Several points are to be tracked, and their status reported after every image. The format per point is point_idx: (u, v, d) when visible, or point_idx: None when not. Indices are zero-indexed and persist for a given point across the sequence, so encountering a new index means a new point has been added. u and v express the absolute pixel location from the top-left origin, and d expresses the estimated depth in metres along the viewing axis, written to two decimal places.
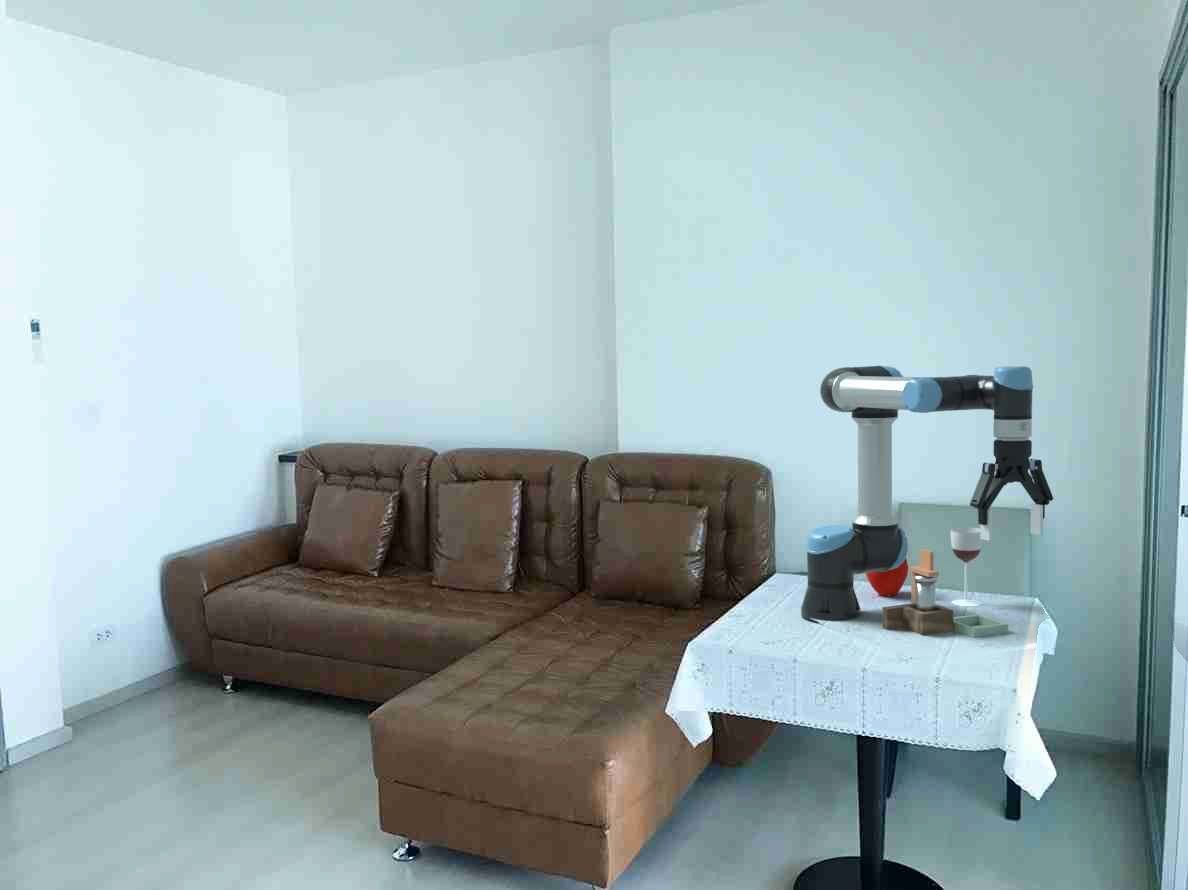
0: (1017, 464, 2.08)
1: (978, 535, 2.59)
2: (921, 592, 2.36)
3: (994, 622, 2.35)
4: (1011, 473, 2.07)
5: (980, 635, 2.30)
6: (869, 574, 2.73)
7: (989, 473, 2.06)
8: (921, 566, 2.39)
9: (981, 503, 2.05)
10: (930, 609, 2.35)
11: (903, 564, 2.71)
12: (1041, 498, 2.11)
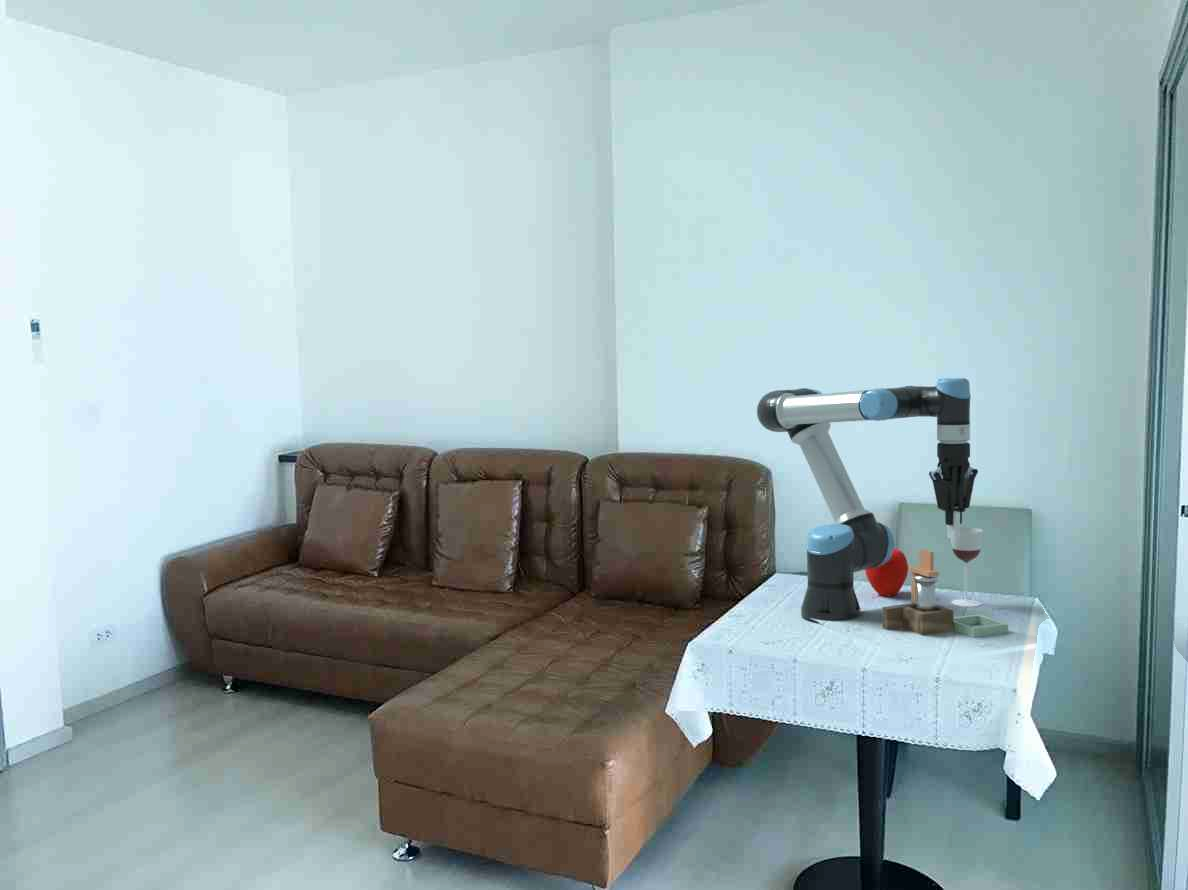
0: None
1: (978, 535, 2.59)
2: (921, 592, 2.36)
3: (994, 622, 2.35)
4: (954, 473, 2.35)
5: (980, 635, 2.30)
6: (869, 574, 2.73)
7: (938, 481, 2.35)
8: (921, 566, 2.39)
9: (946, 506, 2.36)
10: (930, 609, 2.35)
11: (903, 564, 2.71)
12: (960, 504, 2.37)
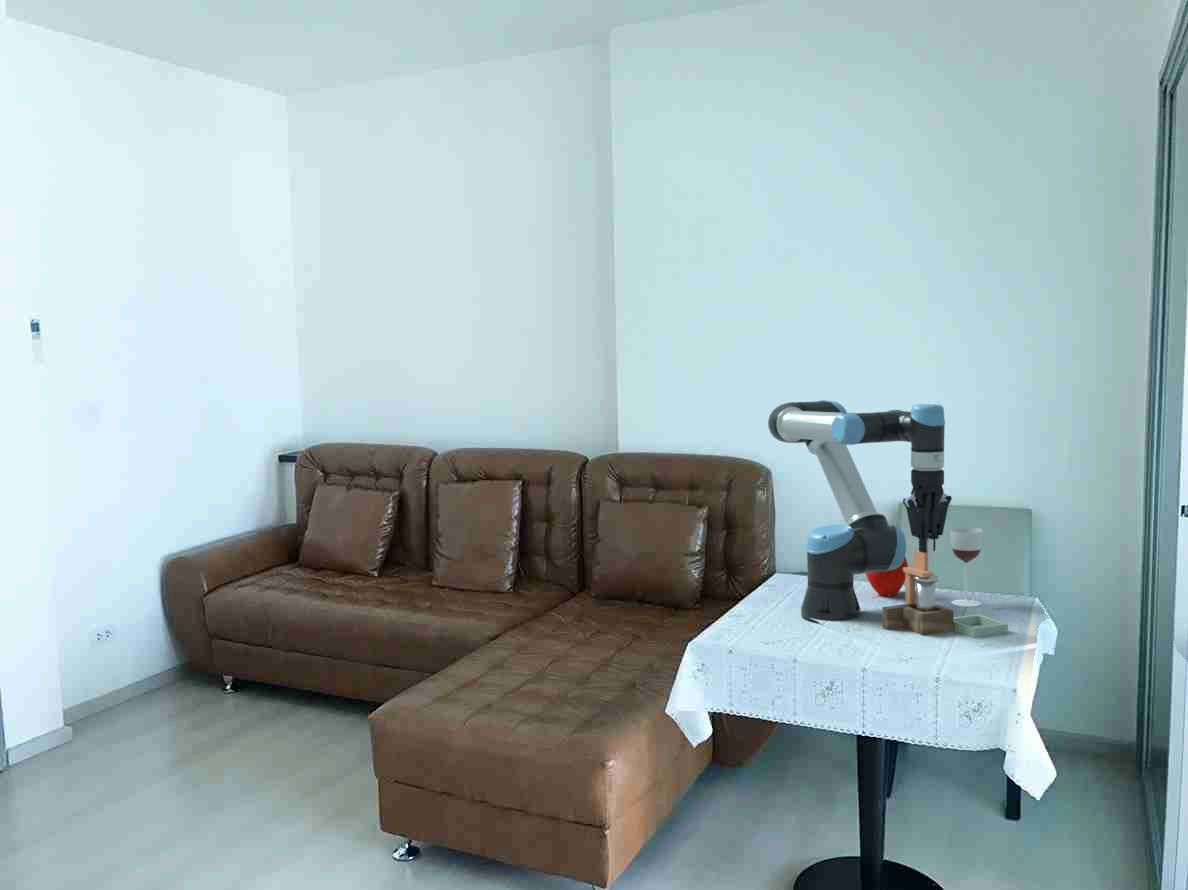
0: None
1: (978, 535, 2.59)
2: (921, 592, 2.36)
3: (994, 622, 2.35)
4: (928, 500, 2.33)
5: (980, 635, 2.30)
6: (869, 574, 2.73)
7: (912, 508, 2.33)
8: (915, 567, 2.38)
9: (920, 533, 2.34)
10: (930, 609, 2.35)
11: (903, 564, 2.71)
12: (934, 531, 2.35)
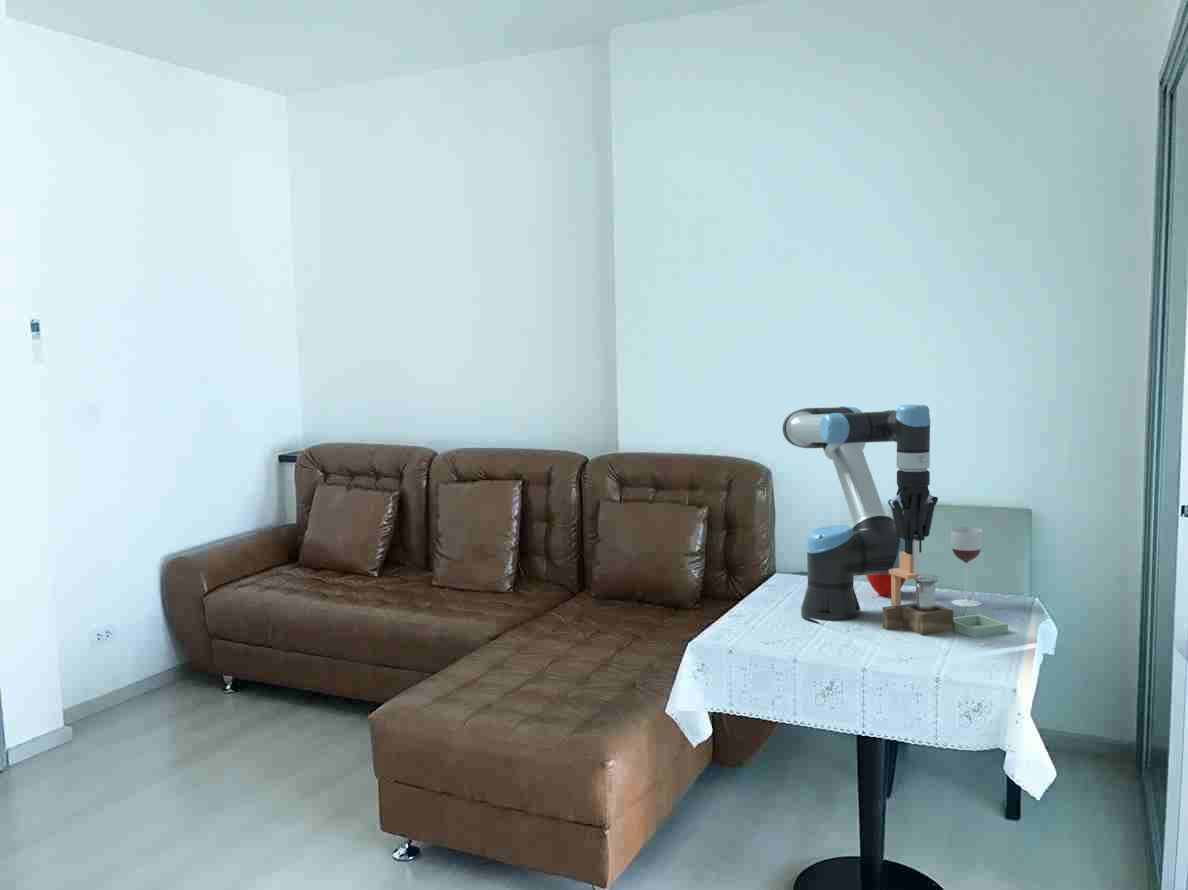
0: None
1: (978, 535, 2.59)
2: (921, 592, 2.36)
3: (994, 622, 2.35)
4: (913, 501, 2.32)
5: (980, 635, 2.30)
6: None
7: (897, 509, 2.31)
8: (901, 568, 2.37)
9: (905, 534, 2.32)
10: (930, 609, 2.35)
11: None
12: (920, 532, 2.34)
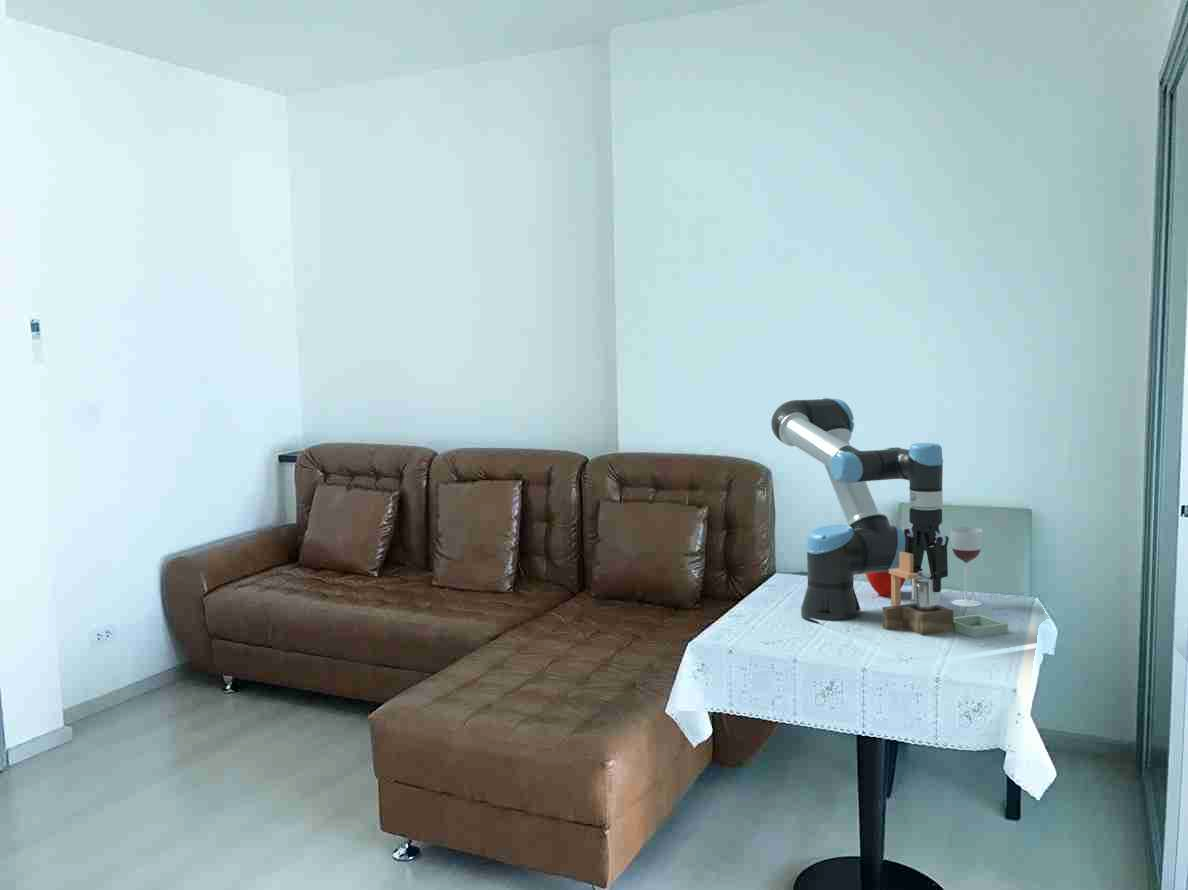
0: (923, 526, 2.35)
1: (978, 535, 2.59)
2: (921, 592, 2.36)
3: (994, 622, 2.35)
4: (915, 537, 2.37)
5: (980, 635, 2.30)
6: (869, 574, 2.73)
7: None
8: (901, 568, 2.37)
9: None
10: (930, 609, 2.35)
11: None
12: (931, 571, 2.33)
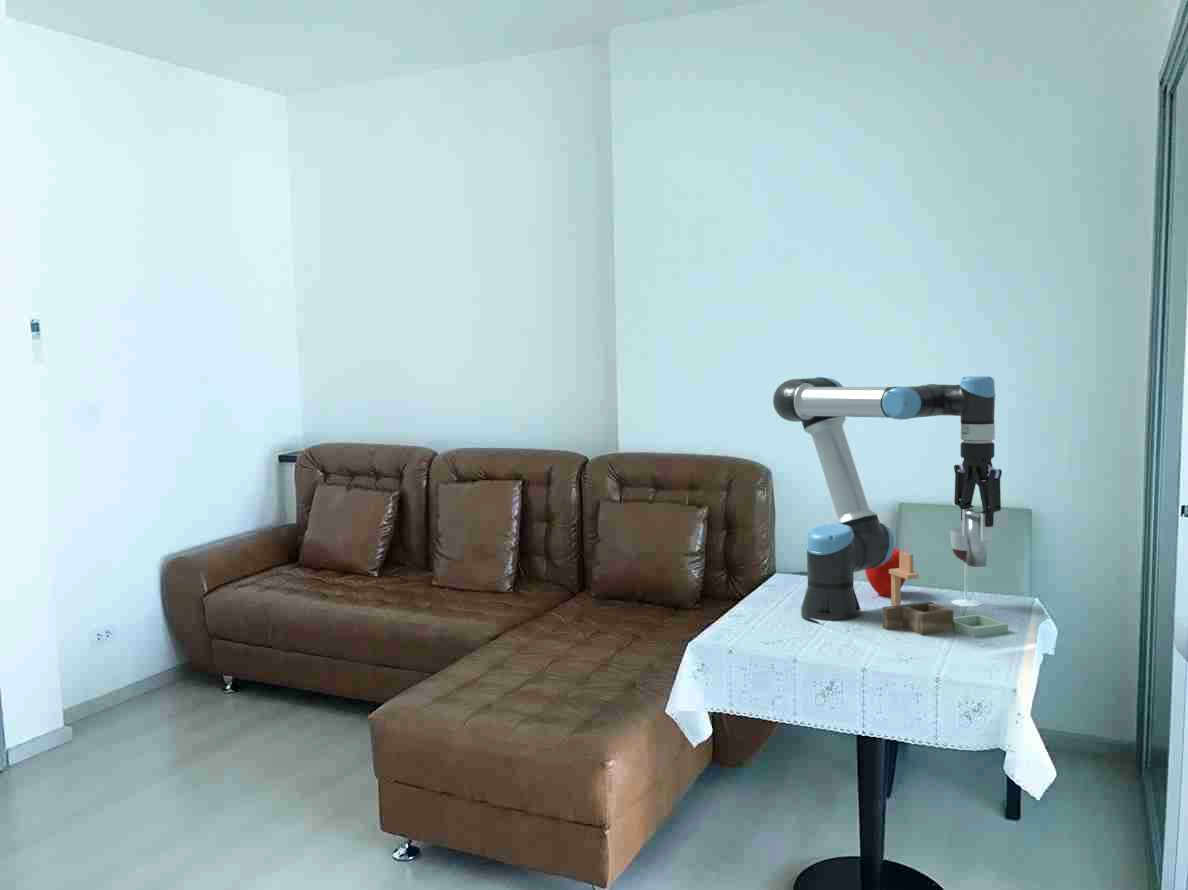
0: (975, 460, 2.31)
1: None
2: (972, 527, 2.32)
3: (994, 622, 2.35)
4: (966, 472, 2.33)
5: (980, 635, 2.30)
6: (869, 574, 2.73)
7: None
8: (901, 568, 2.37)
9: (956, 501, 2.38)
10: (982, 544, 2.32)
11: None
12: (983, 506, 2.29)
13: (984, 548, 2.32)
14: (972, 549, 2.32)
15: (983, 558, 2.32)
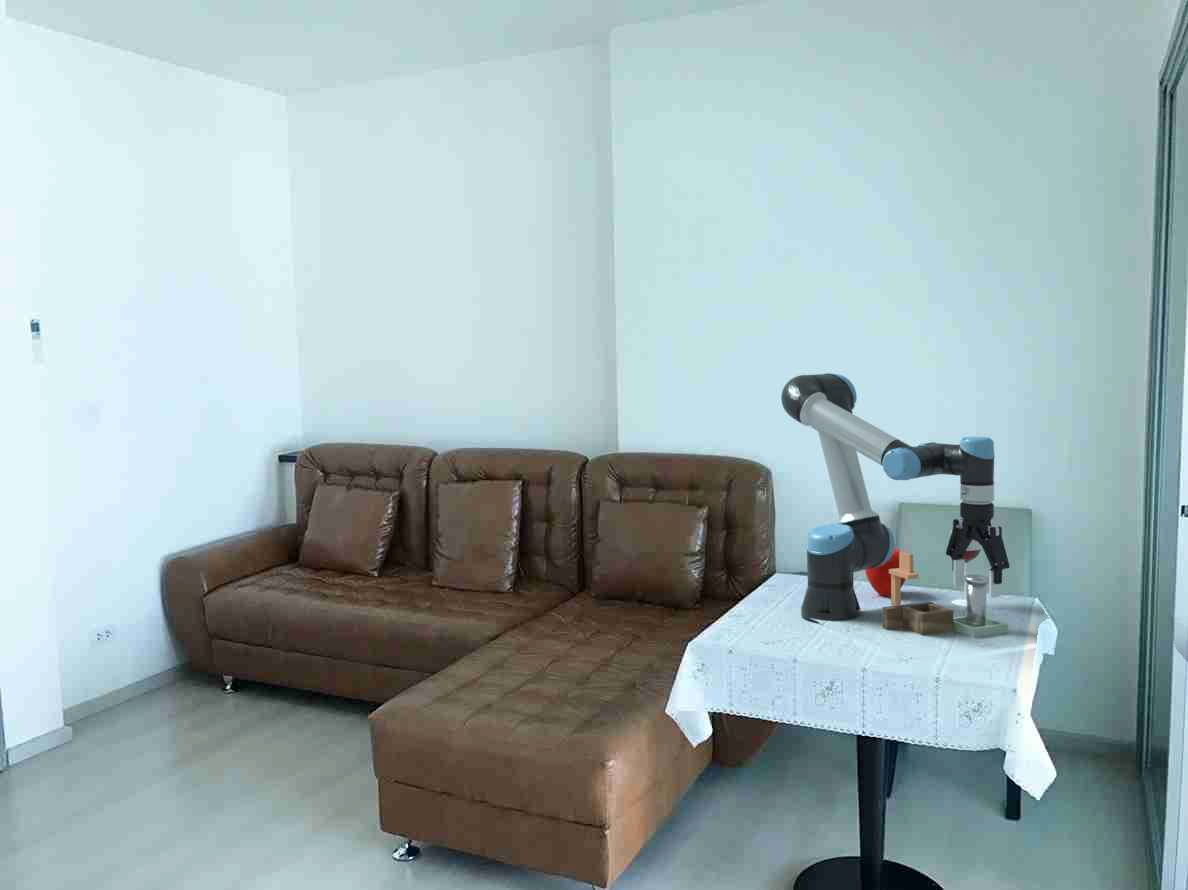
0: (974, 523, 2.33)
1: None
2: (972, 593, 2.33)
3: (994, 622, 2.35)
4: (964, 530, 2.35)
5: (980, 635, 2.30)
6: (869, 574, 2.73)
7: None
8: (901, 568, 2.37)
9: (948, 551, 2.42)
10: (982, 610, 2.33)
11: None
12: (991, 563, 2.28)
13: (983, 614, 2.33)
14: (972, 615, 2.34)
15: (983, 625, 2.34)
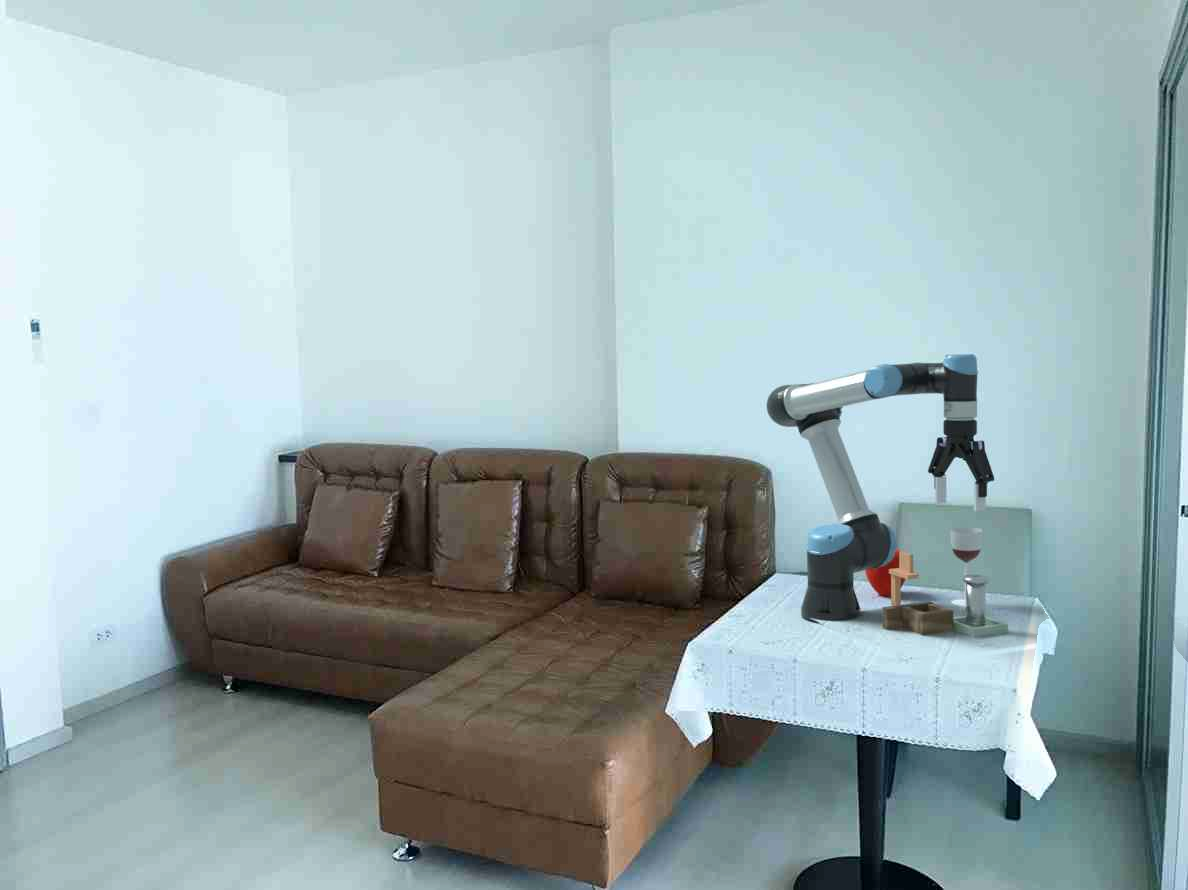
0: (957, 441, 2.33)
1: (978, 535, 2.59)
2: (971, 593, 2.33)
3: (994, 622, 2.35)
4: (948, 448, 2.35)
5: (980, 635, 2.30)
6: (869, 574, 2.73)
7: None
8: (901, 568, 2.37)
9: (930, 469, 2.42)
10: (981, 610, 2.33)
11: None
12: (976, 477, 2.27)
13: (982, 614, 2.33)
14: (971, 615, 2.34)
15: (983, 624, 2.34)
